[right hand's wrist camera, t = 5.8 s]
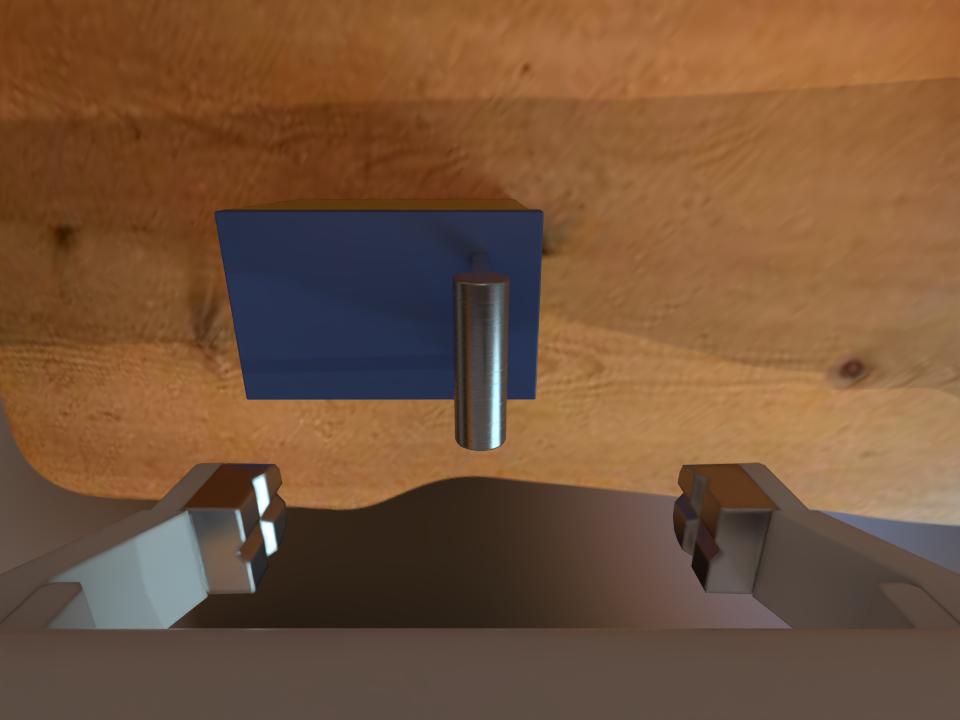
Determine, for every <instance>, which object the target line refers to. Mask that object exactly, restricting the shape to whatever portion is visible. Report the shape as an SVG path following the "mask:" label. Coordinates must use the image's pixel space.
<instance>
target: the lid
mask: <svg viewBox="0 0 960 720" xmlns="http://www.w3.org/2000/svg"><path fill="white" fill-rule="evenodd" d="M543 214H544V213H543V211H541V210H242V209H227V210H220V211H215V218H216V224H217V230H218V236H219V241H220V247H221V253H222V259H223V264H224V270H225V276H226V282H227V288H228V293H229V299H230V305H231V311H232V316H233V322H234V328H235V334H236V339H237V345H238V351H239V357H240V362H241V368H242V374H243V380H244V386H245V391H246V397H247V399H248V400H294V399H454V406H455V439H456V441H457V443H458V444H459V445H460V446H462V447H464V448H466V449H470V450H475V451H486V450H492V449H495V448H497V447H499V446H501V445H502V444H503V443H504V442H505V439H506V410H507V399H535V398H536V381H537V357H538V333H539V309H540V285H541V261H542V237H543Z"/></svg>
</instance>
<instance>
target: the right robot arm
mask: <svg viewBox="0 0 960 720" xmlns="http://www.w3.org/2000/svg"><path fill="white" fill-rule="evenodd" d="M281 484H282V479H281V474H280V469H279V468H278V467H277V466H276V465H275V464H242V463H226V464H225V463H201V464H196V465H195V466H194V467H193V468H192V469H191V470H190V471H189V472H188V473H187V474H186V475H185V476H184V477H183V478H182V479H181V480H180V481H179V482H178V483H177V484H176V485H175V486H174V487H173V488H172V489H171V490H170V491H169V492H168V493H167V494H166V495H165V496H164V497H163V498H162V499H161V500H160V501H159V502H158V503H157V504H156V505H155V506H154V507H153V508H152V509H151V510H150V511H140V512H138V513H136V514H133V515H131V516H129V517H127V518H124V519H122V520H120V521H118V522H116V523H113V524H111V525H109V526H107V527H104V528H102V529H100V530H98V531H95V532H93V533H91V534H89V535H87V536H84V537H82V538H80V539H78V540H75V541H73V542H71V543H69V544H67V545H64V546H62V547H60V548H58V549H56V550H53V551H51V552H49V553H47V554H44V555H42V556H40V557H38V558H35V559H33V560H31V561H29V562H27V563H24V564H22V565H20V566H18V567H15V568H13V569H11V570H9V571H6V572H4V573H2V574H0V720H960V574H958V573H955V572H953V571H951V570H949V569H946V568H944V567H942V566H940V565H938V564H935V563H933V562H931V561H929V560H926V559H924V558H922V557H920V556H918V555H915V554H913V553H911V552H909V551H907V550H904V549H902V548H900V547H898V546H895V545H893V544H891V543H889V542H887V541H884V540H882V539H880V538H878V537H875V536H873V535H871V534H869V533H867V532H864V531H862V530H860V529H858V528H855V527H853V526H851V525H849V524H847V523H844V522H842V521H840V520H838V519H836V518H833V517H831V516H829V515H827V514H824V513H822V512H820V511H810V510H809V509H808V508H807V507H806V506H805V505H804V504H803V503H802V502H801V501H800V500H799V499H798V498H797V497H796V496H795V495H794V494H793V493H792V492H791V491H790V490H789V489H788V488H787V487H786V486H785V485H784V484H783V483H782V482H781V481H780V480H779V479H778V478H777V477H776V476H775V475H774V474H773V473H772V472H771V471H770V470H769V469H768V468H767V467H766V466H765V465H763V464H760V463H736V464H699V465H683V466H682V468H681V470H680V473H679V479H678V484H679V486H680V488H681V489H682V491H683V492H684V493H683V494H682V495H681V496H680V497H679V498H678V499H677V500H676V501H675V504H674V513H673V521H674V531H675V534H676V537H677V540H678V542H679V544H680V546H681V548H682V550H684V551H685V552H687V553H688V554H690V555H691V556H693V559H692V565H691V567H692V568H693V570H694V572H695V574H696V576H697V578H698V579H699V581H700V583H701V585H702V587H703V589H704V590H705V592H706V593H728V594H753V597H754V598H755V599H756V600H758V601H759V602H760V603H762V604H763V605H764V606H765V607H767V608H768V609H769V610H770V611H772V612H773V613H774V614H775V615H777V616H778V617H779V618H780V619H782V620H783V621H784V622H786V623H787V624H788V625H789V626H791V627H792V628H793V629H167V628H168V627H170V626H171V625H172V624H173V623H175V622H176V621H177V620H178V619H180V618H181V617H182V616H184V615H185V614H186V613H187V612H189V611H190V610H191V609H192V608H194V607H195V606H196V605H197V604H199V603H200V602H201V601H202V600H204V599H205V598H206V597H207V594H231V593H254V592H255V590H256V589H257V587H258V585H259V583H260V581H261V579H262V578H263V576H264V574H265V572H266V570H267V568H268V567H269V565H268V559H267V556H269V555H270V554H272V553H273V552H275V551H276V550H278V548H279V546H280V544H281V542H282V540H283V537H284V533H285V529H286V525H287V511H286V504H285V501H284V500H283V499H282V498H281V497H280V496H279V495H278V494H277V493H276V492H277V491H278V489H279V488H280V486H281Z"/></svg>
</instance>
